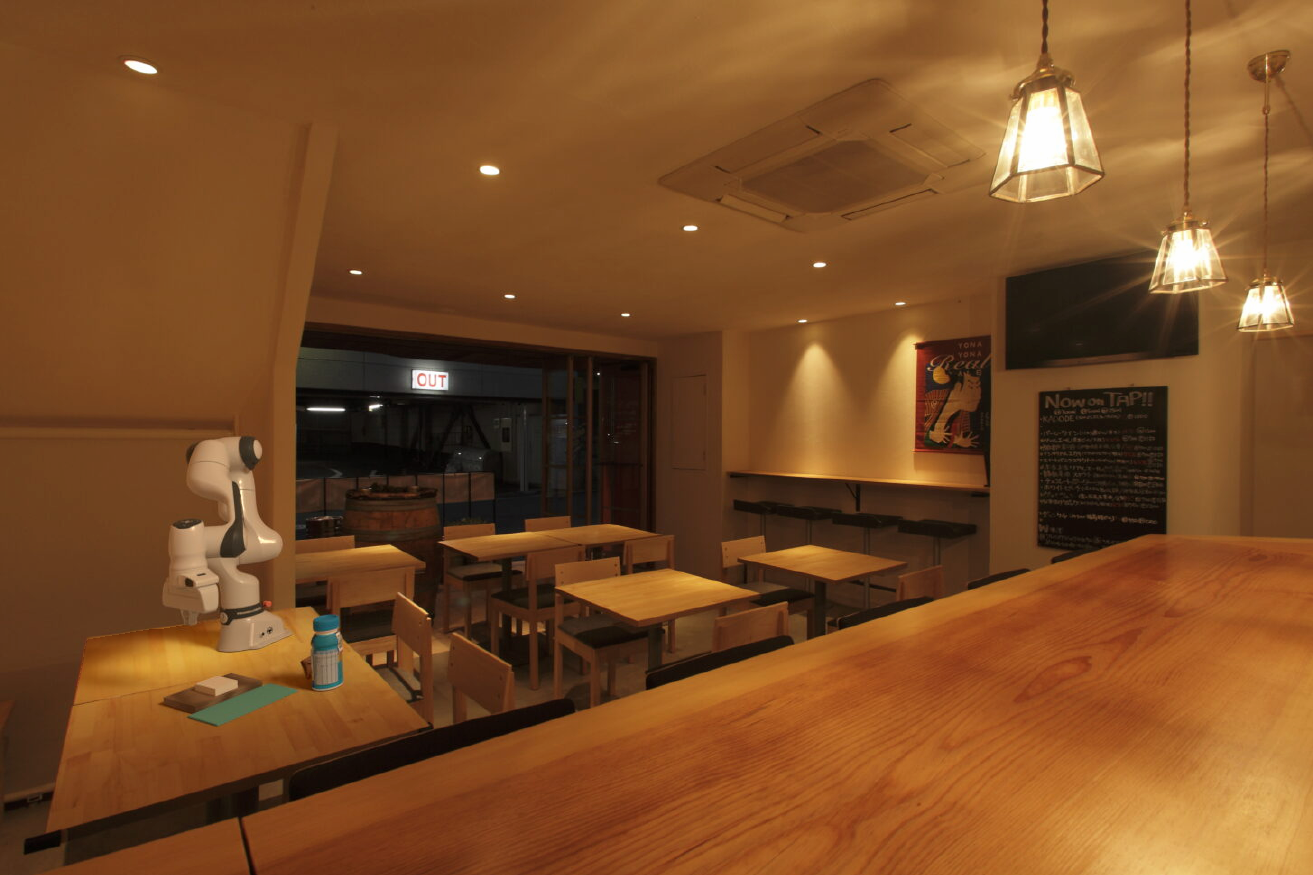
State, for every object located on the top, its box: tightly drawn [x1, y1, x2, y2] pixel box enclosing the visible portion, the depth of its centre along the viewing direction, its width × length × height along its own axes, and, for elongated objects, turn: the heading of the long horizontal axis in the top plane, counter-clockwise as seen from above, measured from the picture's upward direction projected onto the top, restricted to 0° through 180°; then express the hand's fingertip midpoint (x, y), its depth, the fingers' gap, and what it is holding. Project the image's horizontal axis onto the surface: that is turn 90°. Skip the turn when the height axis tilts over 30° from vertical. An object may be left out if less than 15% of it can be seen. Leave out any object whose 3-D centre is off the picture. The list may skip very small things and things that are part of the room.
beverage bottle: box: [309, 614, 344, 692], centre depth 182 cm, size 8×8×20 cm
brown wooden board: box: [163, 672, 263, 714], centre depth 177 cm, size 18×14×2 cm
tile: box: [194, 675, 238, 696], centre depth 176 cm, size 6×9×2 cm, turn 66°
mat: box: [187, 682, 298, 727], centre depth 172 cm, size 22×12×1 cm, turn 156°
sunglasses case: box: [300, 655, 312, 680], centre depth 197 cm, size 18×7×7 cm, turn 37°
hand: (190, 624), depth 180 cm, fingers closed
